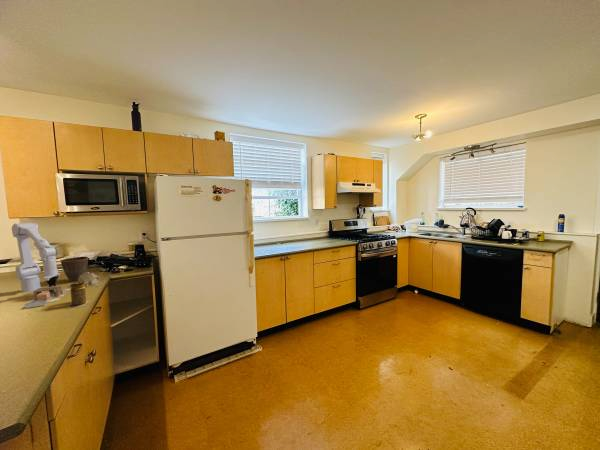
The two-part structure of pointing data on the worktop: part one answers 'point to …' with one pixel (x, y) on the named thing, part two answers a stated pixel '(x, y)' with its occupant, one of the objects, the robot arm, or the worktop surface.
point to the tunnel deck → (58, 294)
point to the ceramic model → (89, 279)
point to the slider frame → (41, 302)
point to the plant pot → (74, 267)
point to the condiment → (78, 295)
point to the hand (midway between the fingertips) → (52, 289)
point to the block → (43, 296)
